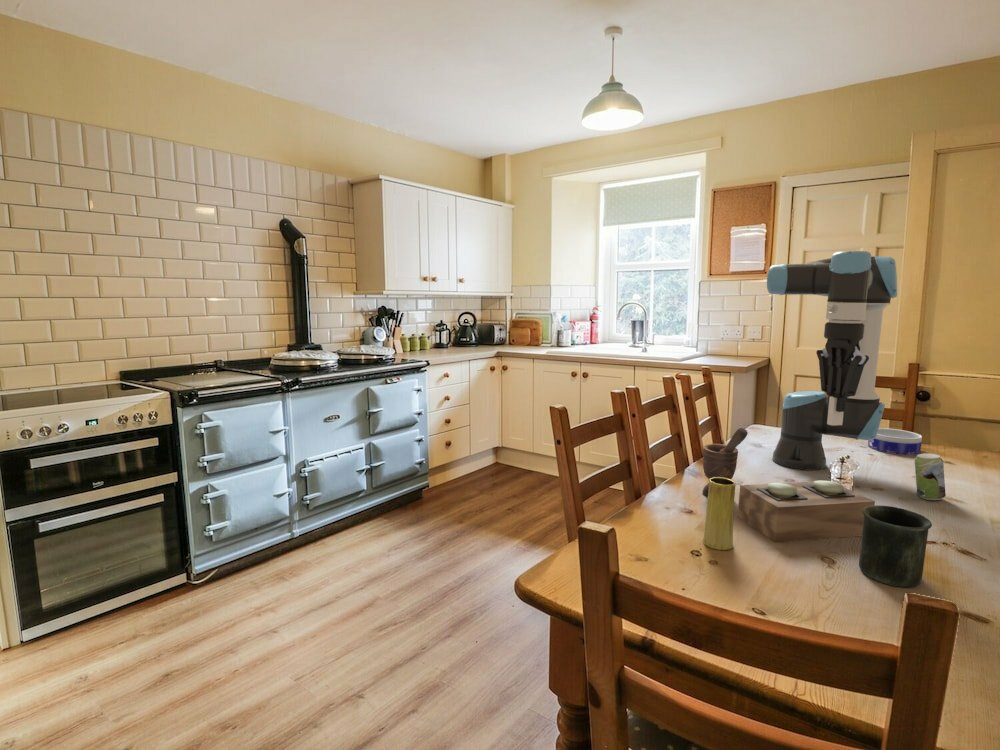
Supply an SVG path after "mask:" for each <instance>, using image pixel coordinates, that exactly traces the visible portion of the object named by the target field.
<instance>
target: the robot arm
mask: <svg viewBox="0 0 1000 750" xmlns="http://www.w3.org/2000/svg"><path fill="white" fill-rule="evenodd" d="M897 272H898V271H897V263H896V259H894V258H893V257H891V256H878V255H874V256H872V254H871V252H869V251H868V250H867V251H866V250H848V251H837V252H834V253H833V254H832V255H831V257H829V258H824V259H819V260H813V261H809V262H805V263H789V264H788V263H787V264H786V263H782V264H773V265H770V267H769V269H768V271H767V276H766V288H767V289H766V290H767V291H768V293H769V294H770V295H779V296H785V295H787V296H792V295H794V296H797V295H799V296H800V295H805V296H806V295H810V296H811V295H812V296H814V295H816V296H822V297H827V300H826V302H827V304H826V311H825V313H826V314H825V319H826V320H827V322H825V323H824V332H823V337H824V339H827V340H826V343H825V347H824V348H822V349H818V350H816V356H817V359H818V365H819V377H820V379H819V380H820V388H821V389H820V390H821V391H818V390H804V391H803V390H801V391H794V392H790V393H787V394H786V395H785V396H784V398H783V402H782V403H783V405H782V408H781V409H782V413H781V414H782V415H781V427H780V438H779V439H778V441H777V444H776V446H775V449H774V451H773V452H772V461H773V463H776V464H778V465H781V466H784V467H788V468H792V469H797V470H806V471H807V470H809V471H814V470H815V471H816V470H817V471H818V470H822V469H825V468H826V466H827V458H826V454H825V451H824V446H823V443H822V440H823V435H825V436H833V437H838V438H839V437H841V438H847V439H854V440H857V441H858V440H863V441H868V440H873V439H874V438H875V437H876V435H877V432H878V429H879V428H880V424H881V421H882V417H883V413H884V411H885V407H886V404H885V403H884V402H882V401H880V399H881V396H880V395H879V393H878V392H876V389H875V387H876V381H877V379H876V378H877V369H878V360H879V359H878V358H879V352H880V341H881V333H882V325H883V324H882V322H883V316H884V315H883V311H884V309H886V308H887V307H888V306H890V304H891V300H892V299H894V298H897V297H898V274H897Z"/></svg>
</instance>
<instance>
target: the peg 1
mask: <svg viewBox="0 0 1000 750" xmlns="http://www.w3.org/2000/svg"><path fill="white" fill-rule="evenodd" d="M784 483H785V482H771V483H767V484H768V491H769V492H771V493H772V495H774V496H776V497H778V498H788V497H791V496H794V495H796V494H797V488H796V487H794V486H791V485H788V484H784Z"/></svg>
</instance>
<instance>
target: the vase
mask: <svg viewBox="0 0 1000 750" xmlns="http://www.w3.org/2000/svg"><path fill="white" fill-rule="evenodd" d="M708 483H709V487H708V496H707V501H706V511H705V512H706V514H705V523H704V533H703V539H702V543H703V544H704V545H705V546H706V547H708V548H711V549H713V550H717V551H729V550H731V549H733V547H734V539H733V538H734V534H733V533H734V509H735V496H736V495H735V494H736V482H735V481H734V480H733V479H728V478H723V477H713V478H710V479H708Z"/></svg>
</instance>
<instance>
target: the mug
mask: <svg viewBox="0 0 1000 750" xmlns="http://www.w3.org/2000/svg"><path fill="white" fill-rule="evenodd" d="M862 513H863V515H864V522H863V532H862V536H861V542H860V550H859V551H860V552H859V560H858V566H859V568H860V571H861V572H862V573H863V574H864V575H865V576H867V577H868V578H870V579H872V580H875V581H876V582H877V581H878V582H879V583H883V584H884V585H885V584H886V585H889V586H893V587H898V588H899V587H900V588H913V587H912V586H914V587H917V586H918V585H920V584H921V582H923V581H922V580H923V573H924V568H925V567H924V566H925V560H926V559H925V557H926V552H927V551H926V550H927V545H928V544H927V542H928V535H929V530H930V529H931V528H932V527H933V523H932V521H931V520H930V519H929V518H927V517H926V516H924V515H922V514H920V513H917V512H916V511H912V510H909V509H904V508H901V507H896V506H889V505H882V504H881V505H880V504H879V505H876V504H875V506H868V507H865V508H864V509H863V510H862Z"/></svg>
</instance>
